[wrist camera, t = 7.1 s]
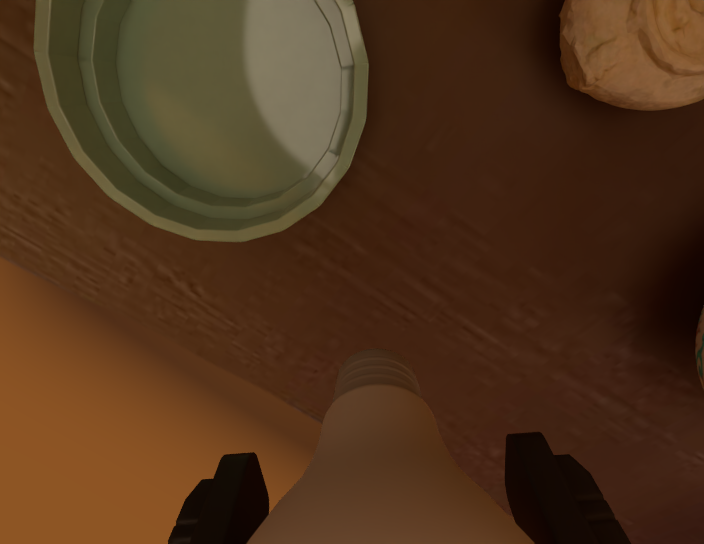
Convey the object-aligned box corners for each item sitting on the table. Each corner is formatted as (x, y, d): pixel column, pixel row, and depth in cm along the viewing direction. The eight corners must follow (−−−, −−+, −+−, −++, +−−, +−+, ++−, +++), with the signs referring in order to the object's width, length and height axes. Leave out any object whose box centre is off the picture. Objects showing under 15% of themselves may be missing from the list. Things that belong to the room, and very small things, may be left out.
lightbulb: (351, 247, 12) (316, 946, 2) (505, 347, 14) (901, 1061, 4) (252, 383, 15) (12, 1056, 4) (394, 457, 16) (454, 1103, 6)
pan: (57, 111, 22) (-14, 116, 18) (180, -162, 18) (124, -238, 14) (271, 260, 25) (253, 293, 21) (423, 60, 21) (437, 53, 17)
